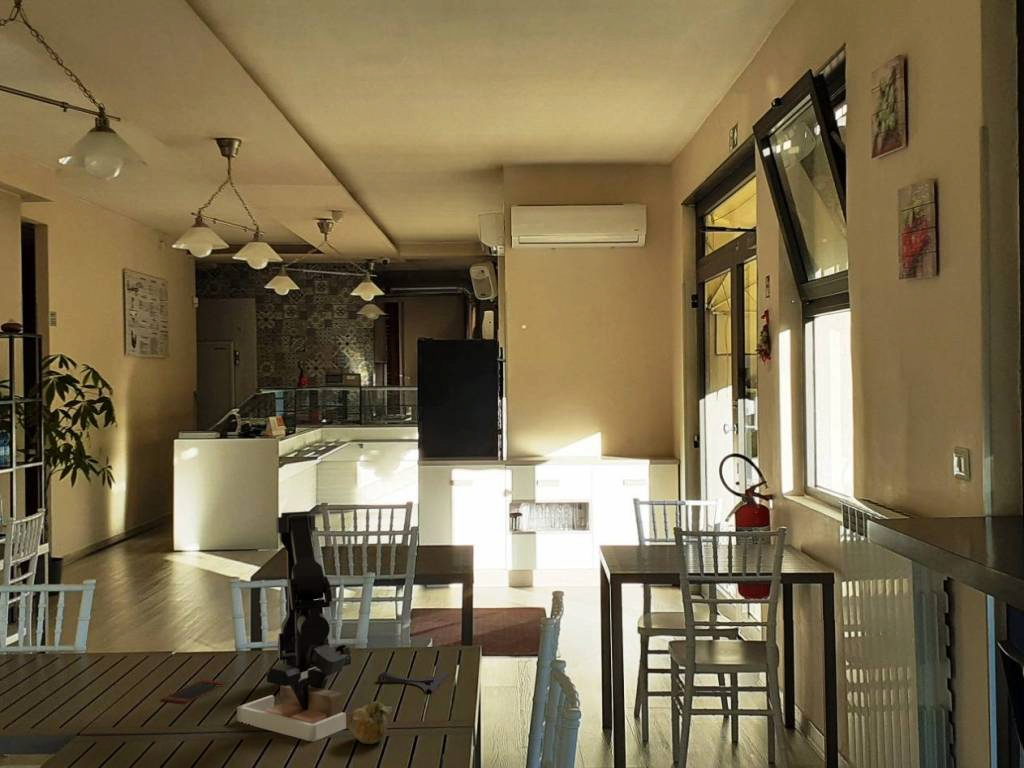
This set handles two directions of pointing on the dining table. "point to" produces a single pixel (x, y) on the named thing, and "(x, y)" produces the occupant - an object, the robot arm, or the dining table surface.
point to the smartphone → (193, 691)
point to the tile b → (310, 716)
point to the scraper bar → (315, 700)
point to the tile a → (284, 710)
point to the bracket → (415, 680)
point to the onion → (369, 722)
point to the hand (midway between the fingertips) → (310, 707)
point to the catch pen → (288, 721)
